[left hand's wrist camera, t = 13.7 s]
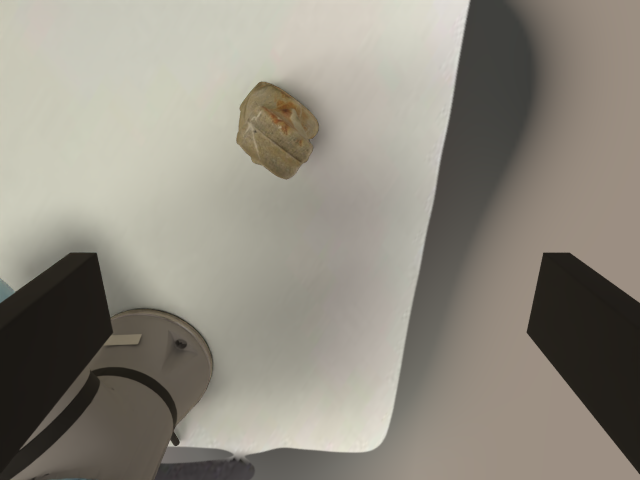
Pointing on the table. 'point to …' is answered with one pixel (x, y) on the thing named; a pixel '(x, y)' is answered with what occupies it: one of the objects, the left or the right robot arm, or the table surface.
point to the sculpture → (276, 130)
